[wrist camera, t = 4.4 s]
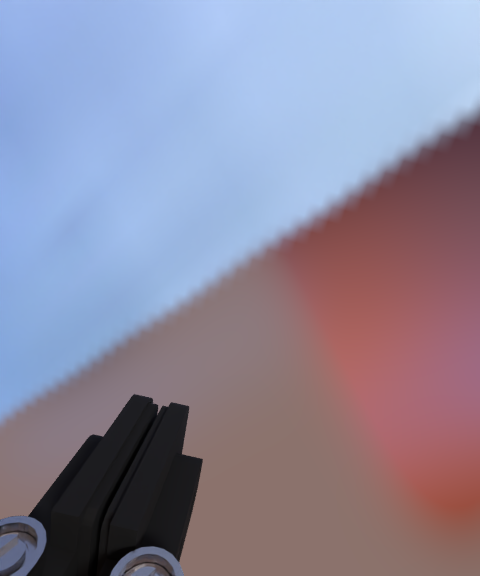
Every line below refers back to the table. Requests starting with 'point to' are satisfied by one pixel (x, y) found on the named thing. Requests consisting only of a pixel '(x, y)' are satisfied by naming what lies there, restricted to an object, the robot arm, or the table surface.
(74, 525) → the robot arm
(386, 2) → the table surface
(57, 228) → the table surface
